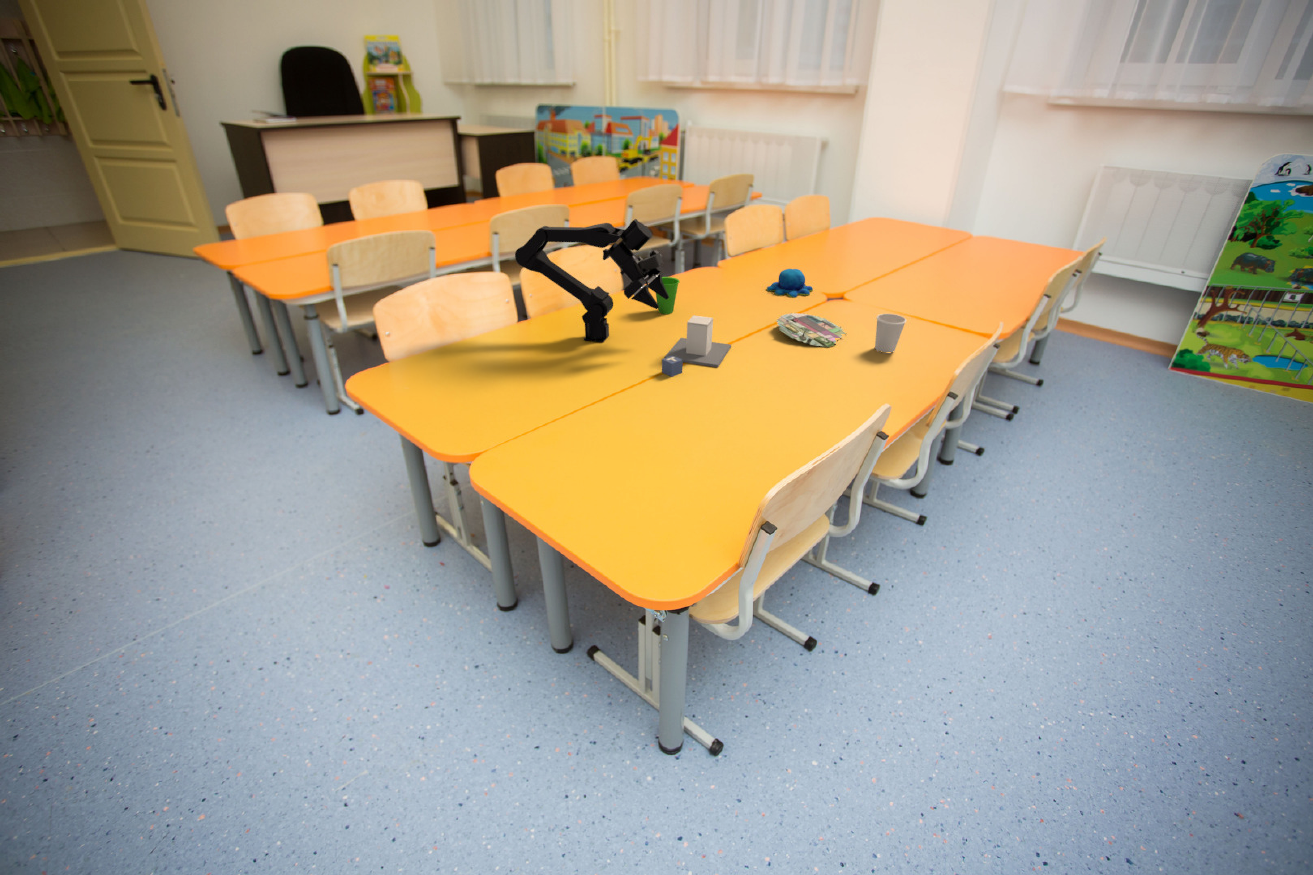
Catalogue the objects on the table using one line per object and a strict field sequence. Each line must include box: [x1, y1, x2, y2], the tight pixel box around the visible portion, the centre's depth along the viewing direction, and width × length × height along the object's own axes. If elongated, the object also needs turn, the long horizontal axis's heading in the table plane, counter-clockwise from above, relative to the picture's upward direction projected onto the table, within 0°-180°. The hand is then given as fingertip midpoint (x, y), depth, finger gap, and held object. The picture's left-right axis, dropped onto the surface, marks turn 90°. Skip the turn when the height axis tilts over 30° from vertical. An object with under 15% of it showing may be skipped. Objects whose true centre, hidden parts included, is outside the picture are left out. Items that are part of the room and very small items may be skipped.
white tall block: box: [686, 314, 714, 356], centre depth 177 cm, size 6×6×10 cm
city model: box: [776, 312, 847, 348], centre depth 193 cm, size 25×23×6 cm
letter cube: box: [661, 356, 684, 378], centre depth 167 cm, size 4×4×4 cm
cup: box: [655, 276, 680, 315], centre depth 208 cm, size 9×9×11 cm
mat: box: [663, 337, 732, 368], centre depth 180 cm, size 16×16×1 cm
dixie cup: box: [874, 313, 907, 353], centre depth 181 cm, size 8×8×10 cm
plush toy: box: [766, 268, 814, 299], centre depth 232 cm, size 17×17×8 cm
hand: (663, 303), depth 177 cm, fingers open, 9 cm apart
